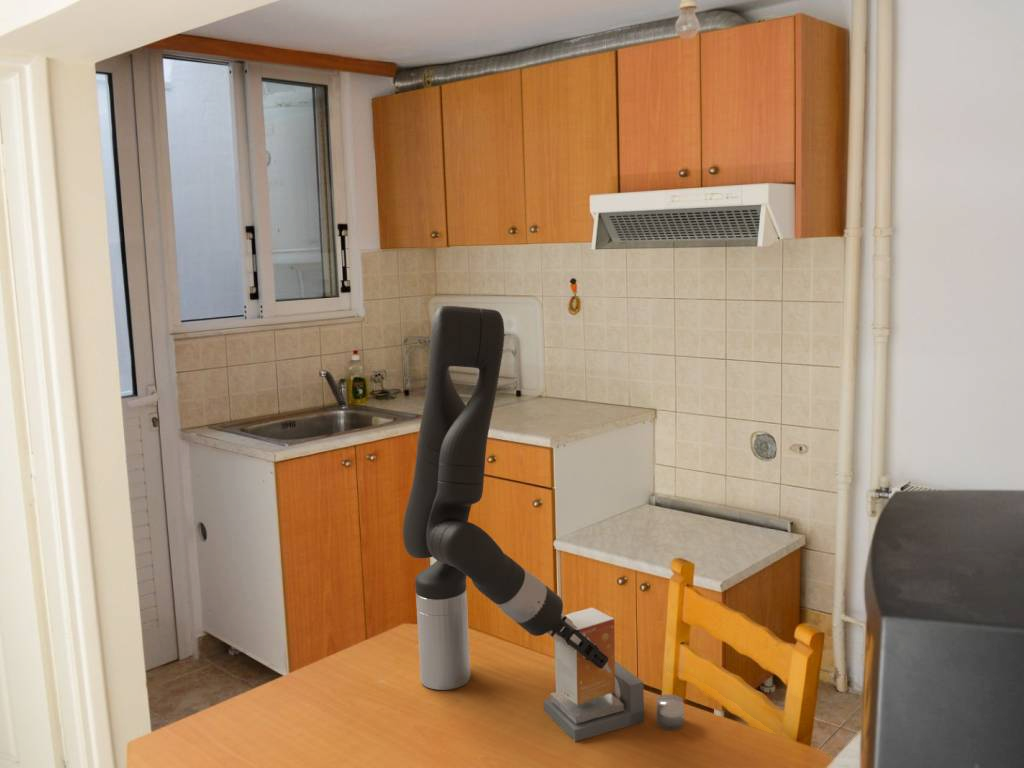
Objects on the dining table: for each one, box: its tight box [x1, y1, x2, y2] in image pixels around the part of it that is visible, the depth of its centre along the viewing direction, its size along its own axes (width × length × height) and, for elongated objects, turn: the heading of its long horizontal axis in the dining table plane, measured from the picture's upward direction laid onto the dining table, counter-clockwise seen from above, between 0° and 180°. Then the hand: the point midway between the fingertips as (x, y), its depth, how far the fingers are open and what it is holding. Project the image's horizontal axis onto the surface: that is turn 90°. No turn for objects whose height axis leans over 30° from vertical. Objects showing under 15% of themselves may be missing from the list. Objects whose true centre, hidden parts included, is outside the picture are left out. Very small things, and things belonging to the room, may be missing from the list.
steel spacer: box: [656, 694, 685, 731], centre depth 155 cm, size 4×4×4 cm
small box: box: [554, 607, 616, 705], centre depth 156 cm, size 8×6×13 cm
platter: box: [549, 691, 624, 724], centre depth 157 cm, size 9×9×1 cm
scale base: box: [543, 660, 645, 742], centre depth 158 cm, size 11×13×7 cm
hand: (592, 654), depth 157 cm, fingers closed on small box, 7 cm apart
